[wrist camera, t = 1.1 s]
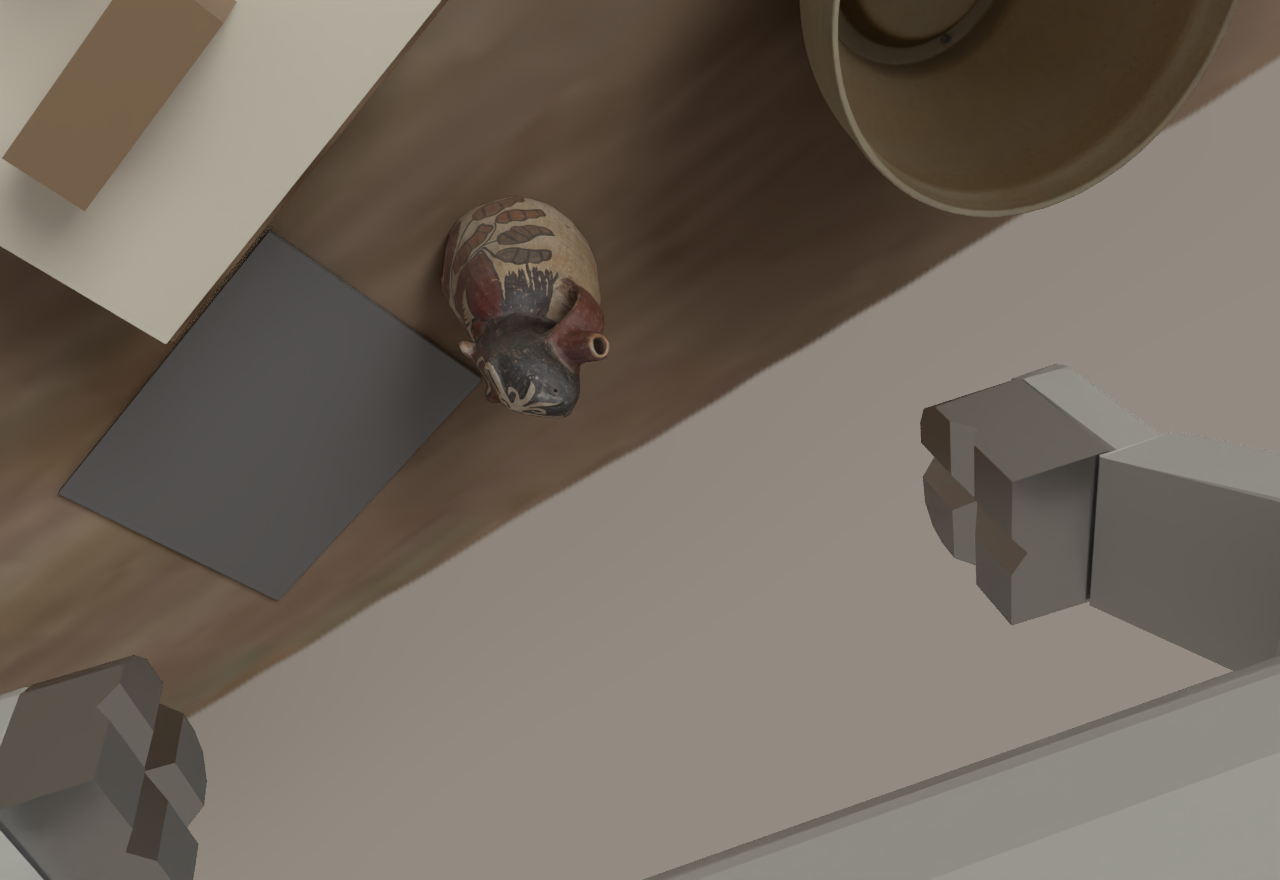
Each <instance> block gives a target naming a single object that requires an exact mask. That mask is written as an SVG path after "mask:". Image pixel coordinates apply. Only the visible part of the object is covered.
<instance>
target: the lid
mask: <svg viewBox="0 0 1280 880" xmlns="http://www.w3.org/2000/svg"><path fill="white" fill-rule="evenodd" d="M440 2H441V0H0V246H1V247H3V248H4V249H6V250H8V251H9V252H11V253H13V254H15V255H16V256H18V257H20V258H21V259H23V260H25V261H26V262H28V263H30V264H31V265H33V266H35V267H36V268H38V269H40V270H41V271H43V272H45V273H46V274H48V275H50V276H52V277H53V278H55V279H57V280H58V281H60V282H62V283H63V284H65V285H67V286H68V287H70V288H72V289H73V290H75V291H77V292H78V293H80V294H82V295H83V296H85V297H87V298H89V299H90V300H92V301H94V302H95V303H97V304H99V305H100V306H102V307H104V308H105V309H107V310H109V311H110V312H112V313H114V314H115V315H117V316H119V317H120V318H122V319H124V320H126V321H127V322H129V323H131V324H132V325H134V326H136V327H137V328H139V329H141V330H142V331H144V332H146V333H147V334H149V335H151V336H152V337H154V338H156V339H157V340H159V341H161V342H162V343H164V344H167V342H168V341H169V340H170V339H171V337H172V336H173V335H174V334H175V332H176V331H177V330H178V329H179V327H180V326H181V325H182V324H183V322H184V321H185V320H186V319H187V317H188V316H189V315H190V314H191V312H192V311H193V310H194V309H195V307H196V306H197V305H198V304H199V303H200V301H201V300H202V299H203V298H204V296H205V295H206V294H207V293H208V291H209V290H210V289H211V288H212V286H213V285H214V284H215V283H216V281H217V280H218V279H219V278H220V276H221V275H222V274H223V273H224V271H225V270H226V269H227V268H228V266H229V265H230V264H231V263H232V261H233V260H234V259H235V258H236V256H237V255H238V254H239V253H240V251H241V250H242V249H243V248H244V246H245V245H246V244H247V243H248V241H249V240H250V239H251V238H252V236H253V235H254V234H255V233H256V231H257V230H258V229H259V228H260V226H261V225H262V224H263V223H264V221H265V220H266V219H267V218H268V216H269V215H270V214H271V213H272V211H273V210H274V209H275V208H276V206H277V205H278V204H279V203H280V201H281V200H282V199H283V198H284V196H285V195H286V194H287V193H288V191H289V190H290V189H291V188H292V186H293V185H294V184H295V183H296V181H297V180H298V179H299V178H300V176H301V175H302V174H303V173H304V171H305V170H306V169H307V168H308V166H309V165H310V164H311V163H312V161H313V160H314V159H315V158H316V156H317V155H318V154H319V153H320V151H321V150H322V149H323V148H324V146H325V145H326V144H327V143H328V141H329V140H330V139H331V138H332V136H333V135H334V134H335V133H336V131H337V130H338V129H339V128H340V126H341V125H342V124H343V123H344V121H345V120H346V119H347V118H348V116H349V115H350V114H351V113H352V111H353V110H354V109H355V108H356V106H357V105H358V104H359V103H360V101H361V100H362V99H363V98H364V96H365V95H366V94H367V93H368V91H369V90H370V89H371V88H372V86H373V85H374V84H375V83H376V81H377V80H378V79H379V78H380V76H381V75H382V74H383V73H384V71H385V70H386V69H387V68H388V66H389V65H390V64H391V63H392V61H393V60H394V59H395V58H396V56H397V55H398V54H399V53H400V51H401V50H402V49H403V48H404V46H405V45H406V44H407V43H408V41H409V40H410V39H411V38H412V36H413V35H414V34H415V33H416V31H417V30H418V29H419V28H420V26H421V25H422V24H423V23H424V21H425V20H426V19H427V18H428V16H429V15H430V14H431V13H432V11H433V10H434V9H435V8H436V7H437V5H438V4H439V3H440Z"/></svg>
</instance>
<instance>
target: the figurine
mask: <svg viewBox="0 0 1280 880" xmlns="http://www.w3.org/2000/svg"><path fill="white" fill-rule="evenodd" d="M441 282H442V290H443V294H444V296H445V298H446V300H447V301H448V303H449V305H450V307H451V308H452V310H453V311H454V313H455V314H456V316H457V317H458V319H459V320H460V322H461V323H462V325H463V326H464V328H465V329H466V331H467V332H468V334H469V335H470V337H471V339H472V340H473V342H469V341H460V342H459V348H460V349H461V351H462V352H463V353H464V354H465V355H466V356H467V357H469V358H470V359H472V360H473V362H474V363H475V364H476V366H477V367H478V368H479V370H480V372H481V373H482V375H483V376H484V378H485V380H486V383H487V388H486V393H485V396H486V398H487V400H488V401H489V402H492V403H499V402H502V403H503V405H504V406H505V407H507V408H508V409H510V410H512V411H515V412H518V413H521V414H525V415H532V416H539V417H554V418H561V417H567V416H568V415H570V414H571V412H572V410H573V408H574V406H575V405H576V403H577V400H578V398H579V393H580V381H579V372H580V368H581V367H582V365H583V364H584V363H585V362H591V361H598V360H602V359H604V358H605V357H606V356H607V354H608V351H609V342H608V340H607V339H606V337H605V336H604V335H602V331H603V329H604V316H603V313H602V311H601V308H600V304H601V296H600V288H599V281H598V273H597V265H596V261H595V259H594V256H593V254H592V252H591V249H590V247H589V244H588V242H587V241H586V239H585V238H584V237H583V235H582V234H581V233H580V231H579V230H578V229H577V227H576V226H575V225H574V223H573V222H572V221H571V220H570V219H569V218H568V217H566V216H565V215H563V214H562V213H561V212H559V211H558V210H557V209H555V208H554V207H553V206H551V205H548V204H545V203H542V202H539V201H536V200H533V199H530V198H521V197H513V196H510V197H506V198H502V199H498V200H494V201H491V202H488V203H485V204H482V205H479V206H476V207H475V208H473V209H471V210H470V211H468V212H467V213H466V214H465V215H463V216H462V217H461V218H460V219H459V220H458V221H457V222H456V224H455V225H454V226H453V227H452V229H451V231H450V233H449V239H448V243H447V247H446V253H445V263H444V271H443V277H442V278H441Z"/></svg>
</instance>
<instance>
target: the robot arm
mask: <svg viewBox="0 0 1280 880" xmlns="http://www.w3.org/2000/svg"><path fill="white" fill-rule="evenodd" d="M920 424H921V443H922V444H923V445H924V446H925V447H926V448H927V449H928V450H929V451H930V452H931V454H932V455H933V456H934V459H933V460H932V462H931V464H930V465H929V467H928V469H927V471H926V473H925V474H924V476H923V482H924V494H925V503H926V506H927V509H928V512H929V515H930V518H931V522H932V525H933V527H934V529H935V531H936V532H937V534H938V536H939V538H940V539H941V541H942V543H943V544H944V546H945V547H946V548H947V549H948V551H949V552H950V553H951V554H952V555H953V557H954V558H956V559H959V560H962V561H965V562H968V563H971V564H973V565H976V583H977V585H978V587H979V588H980V589H981V590H982V591H983V593H984V594H985V595H986V596H987V597H988V598H989V600H990V601H991V602H992V603H993V604H994V605H995V607H996V608H997V609H998V610H999V611H1000V612H1001V614H1002V615H1003V616H1004V617H1005V618H1006V620H1007V621H1008V622H1009V623H1010V624H1011V625H1014V624H1017V623H1021V622H1024V621H1027V620H1030V619H1034V618H1037V617H1040V616H1044V615H1047V614H1050V613H1053V612H1056V611H1060V610H1062V609H1066V608H1069V607H1073V606H1076V605H1079V604H1082V603H1086V602H1089V601H1090V606H1093V607H1095V608H1097V609H1099V610H1101V611H1104V612H1106V613H1108V614H1110V615H1112V616H1114V617H1117V618H1119V619H1121V620H1123V621H1125V622H1128V623H1130V624H1132V625H1134V626H1136V627H1139V628H1141V629H1143V630H1145V631H1148V632H1150V633H1152V634H1154V635H1156V636H1158V637H1160V638H1163V639H1165V640H1167V641H1169V642H1172V643H1174V644H1176V645H1178V646H1180V647H1182V648H1185V649H1187V650H1189V651H1191V652H1193V653H1196V654H1198V655H1200V656H1202V657H1204V658H1206V659H1209V660H1211V661H1213V662H1215V663H1218V664H1220V665H1222V666H1224V667H1226V668H1228V669H1231V670H1233V672H1230V673H1227V674H1225V675H1222V676H1219V677H1216V678H1213V679H1210V680H1208V681H1205V682H1202V683H1199V684H1196V685H1193V686H1191V687H1188V688H1185V689H1182V690H1179V691H1177V692H1174V693H1171V694H1168V695H1166V696H1162V697H1160V698H1157V699H1154V700H1151V701H1148V702H1146V703H1143V704H1140V705H1138V706H1135V707H1132V708H1129V709H1126V710H1123V711H1120V712H1117V713H1115V714H1112V715H1109V716H1107V717H1103V718H1101V719H1098V720H1095V721H1092V722H1089V723H1086V724H1084V725H1081V726H1078V727H1075V728H1072V729H1070V730H1067V731H1064V732H1061V733H1058V734H1056V735H1053V736H1050V737H1047V738H1044V739H1041V740H1038V741H1036V742H1033V743H1030V744H1027V745H1024V746H1021V747H1019V748H1016V749H1013V750H1010V751H1007V752H1004V753H1001V754H999V755H996V756H993V757H990V758H987V759H984V760H982V761H979V762H976V763H973V764H970V765H968V766H964V767H962V768H959V769H956V770H953V771H950V772H948V773H944V774H942V775H939V776H936V777H933V778H930V779H927V780H925V781H922V782H919V783H916V784H913V785H910V786H908V787H905V788H902V789H899V790H896V791H893V792H890V793H888V794H885V795H882V796H879V797H876V798H873V799H870V800H868V801H865V802H862V803H859V804H856V805H853V806H851V807H848V808H845V809H842V810H839V811H836V812H833V813H831V814H828V815H825V816H822V817H820V818H816V819H813V820H811V821H808V822H805V823H802V824H799V825H796V826H794V827H791V828H788V829H785V830H782V831H779V832H777V833H774V834H771V835H768V836H765V837H762V838H759V839H757V840H754V841H751V842H748V843H746V844H742V845H740V846H737V847H734V848H731V849H729V850H725V851H723V852H720V853H717V854H714V855H711V856H709V857H706V858H703V859H700V860H697V861H694V862H692V863H689V864H686V865H683V866H680V867H677V868H675V869H672V870H669V871H666V872H663V873H660V874H658V875H655V876H652V877H649V878H646V879H644V880H1280V453H1278V452H1274V451H1269V450H1264V449H1259V448H1254V447H1250V446H1245V445H1240V444H1235V443H1231V442H1226V441H1221V440H1216V439H1212V438H1207V437H1202V436H1197V435H1192V434H1188V433H1183V432H1178V431H1174V432H1171V433H1167V434H1164V435H1161V434H1159V433H1158V432H1157V431H1155V430H1154V429H1153V428H1151V427H1150V426H1149V425H1147V424H1146V423H1145V422H1143V421H1142V420H1140V419H1139V418H1138V417H1136V416H1135V415H1134V414H1132V413H1131V412H1130V411H1128V410H1127V409H1125V408H1124V407H1123V406H1121V405H1120V404H1119V403H1117V402H1116V401H1114V400H1113V399H1112V398H1110V397H1109V396H1108V395H1106V394H1105V393H1104V392H1102V391H1101V390H1100V389H1098V388H1097V387H1095V386H1094V385H1093V384H1091V383H1090V382H1089V381H1087V380H1086V379H1085V378H1083V377H1082V376H1080V375H1079V374H1078V373H1076V372H1075V371H1074V370H1072V369H1071V368H1070V367H1068V366H1064V365H1059V364H1053V365H1051V366H1048V367H1045V368H1042V369H1039V370H1036V371H1033V372H1030V373H1027V374H1025V375H1022V376H1019V377H1016V378H1013V379H1012V380H1011V381H1009V382H1006V383H1003V384H999V385H996V386H993V387H990V388H987V389H984V390H981V391H977V392H974V393H971V394H968V395H965V396H962V397H959V398H956V399H953V400H949V401H946V402H943V403H941V404H938V405H934V406H931V407H928V408H925V409H924V410H923V414H922V418H921V422H920ZM162 686H163V681H162V680H161V678H160V677H159V676H158V674H157V673H156V671H155V670H154V669H153V667H152V666H151V664H150V663H149V662H148V660H147V659H145V658H142V657H138V656H135V655H132V656H129V657H126V658H122V659H119V660H115V661H112V662H108V663H105V664H101V665H98V666H95V667H91V668H88V669H84V670H81V671H77V672H74V673H71V674H67V675H64V676H60V677H57V678H53V679H50V680H47V681H43V682H40V683H36V684H33V685H31V686H30V687H23V688H20V689H17V690H13V691H10V692H7V693H4V694H1V695H0V880H193V877H194V869H195V863H196V857H197V850H198V843H197V841H196V840H195V838H194V837H193V836H192V834H191V833H190V831H189V830H188V828H187V827H188V826H189V824H190V823H191V822H192V820H193V819H194V818H195V817H196V815H197V814H198V813H199V811H200V810H201V809H202V807H203V806H204V800H205V792H206V791H205V790H206V783H207V779H206V772H205V764H204V757H203V751H202V749H201V746H200V744H199V741H198V738H197V736H196V733H195V731H194V729H193V728H192V726H191V724H190V723H189V721H188V720H187V718H186V716H185V715H184V713H181V712H179V711H176V710H174V709H171V708H169V707H166V706H164V705H161V704H159V701H160V696H161V691H162Z"/></svg>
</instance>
